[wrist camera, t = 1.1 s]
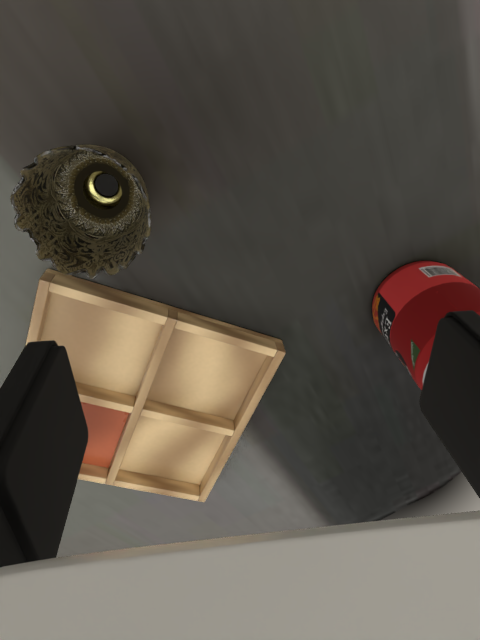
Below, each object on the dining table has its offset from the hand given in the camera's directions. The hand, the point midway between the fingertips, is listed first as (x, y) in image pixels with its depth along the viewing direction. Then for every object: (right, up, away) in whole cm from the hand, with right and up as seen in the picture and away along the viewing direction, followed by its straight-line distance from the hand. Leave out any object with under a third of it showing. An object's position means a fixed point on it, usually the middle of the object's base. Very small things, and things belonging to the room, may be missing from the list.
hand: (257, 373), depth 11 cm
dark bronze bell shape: (-10, +11, +20) cm, 25 cm away
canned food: (+15, +3, +27) cm, 31 cm away
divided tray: (-10, -6, +30) cm, 32 cm away
